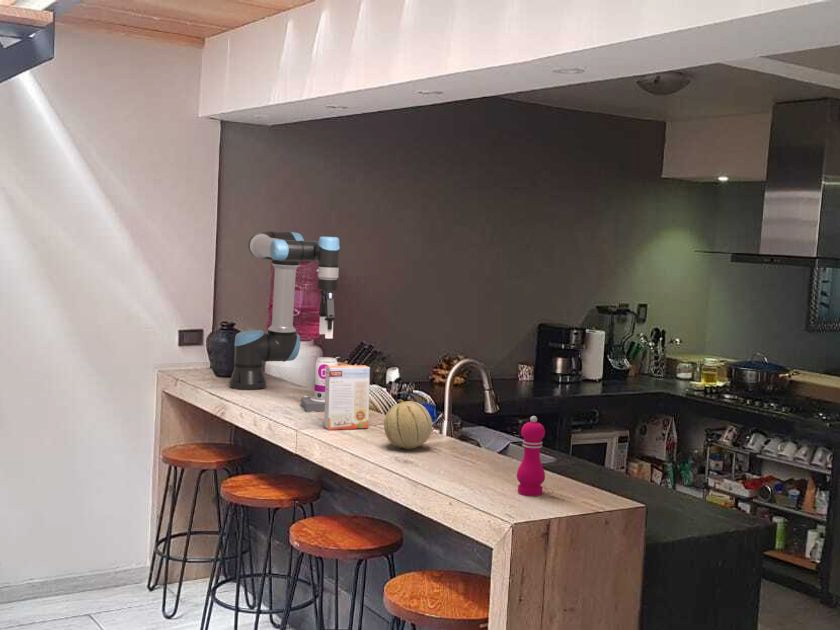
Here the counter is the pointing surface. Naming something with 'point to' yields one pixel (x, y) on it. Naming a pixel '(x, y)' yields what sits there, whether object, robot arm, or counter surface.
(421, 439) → the cantaloupe
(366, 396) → the cracker box
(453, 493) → the counter surface
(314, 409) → the grey flat block
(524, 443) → the pepper mill
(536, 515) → the counter surface
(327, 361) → the supplement can
